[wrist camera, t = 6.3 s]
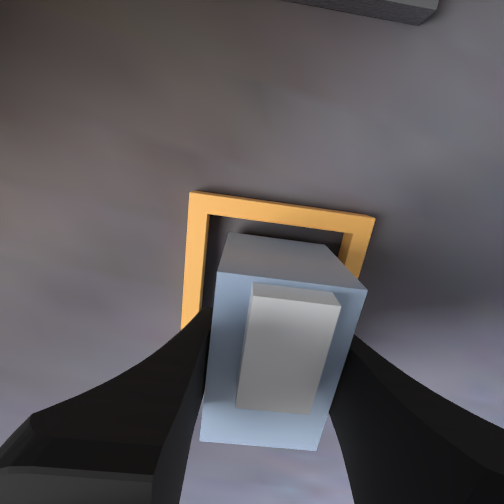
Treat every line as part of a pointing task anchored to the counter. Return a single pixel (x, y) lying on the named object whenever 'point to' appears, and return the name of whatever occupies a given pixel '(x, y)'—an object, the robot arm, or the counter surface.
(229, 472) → the counter surface
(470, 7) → the counter surface
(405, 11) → the open gray picture frame
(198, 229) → the orange picture frame
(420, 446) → the robot arm
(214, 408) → the plug
